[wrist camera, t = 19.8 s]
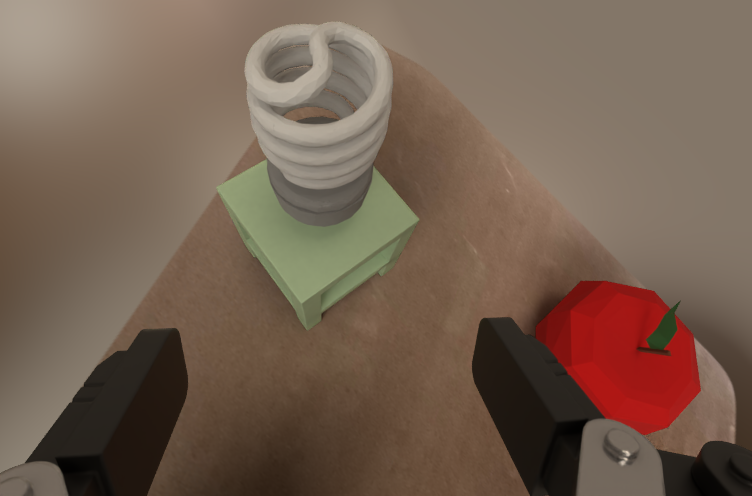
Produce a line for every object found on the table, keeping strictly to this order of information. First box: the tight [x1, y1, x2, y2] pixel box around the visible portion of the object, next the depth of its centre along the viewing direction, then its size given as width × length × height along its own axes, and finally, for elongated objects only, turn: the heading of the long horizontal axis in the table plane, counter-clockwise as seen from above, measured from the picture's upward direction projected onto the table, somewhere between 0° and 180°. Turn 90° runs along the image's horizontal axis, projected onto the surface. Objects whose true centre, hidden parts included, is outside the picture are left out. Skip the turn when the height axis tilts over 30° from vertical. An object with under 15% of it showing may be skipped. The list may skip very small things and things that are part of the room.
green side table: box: [216, 159, 419, 331], centre depth 29 cm, size 9×9×10 cm
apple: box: [536, 281, 701, 435], centre depth 29 cm, size 11×11×10 cm
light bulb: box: [244, 22, 393, 227], centre depth 19 cm, size 6×6×12 cm
